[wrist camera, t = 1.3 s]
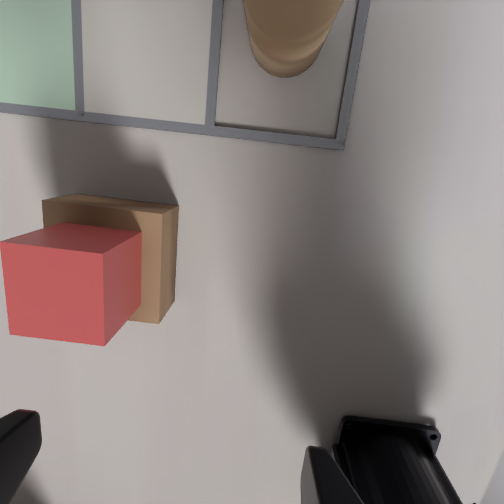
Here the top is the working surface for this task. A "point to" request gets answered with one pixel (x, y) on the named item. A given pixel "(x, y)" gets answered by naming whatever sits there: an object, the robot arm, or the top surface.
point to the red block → (72, 282)
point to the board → (132, 65)
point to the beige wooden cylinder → (288, 32)
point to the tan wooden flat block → (137, 219)
